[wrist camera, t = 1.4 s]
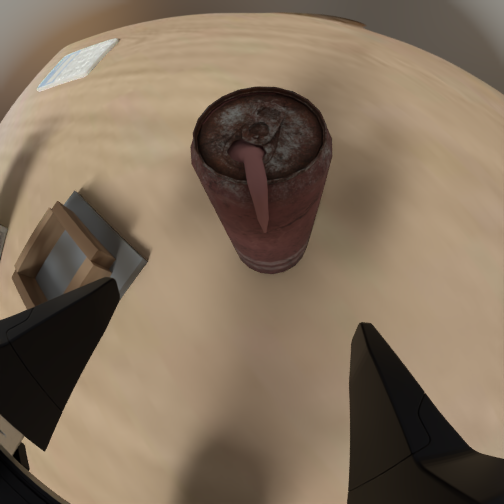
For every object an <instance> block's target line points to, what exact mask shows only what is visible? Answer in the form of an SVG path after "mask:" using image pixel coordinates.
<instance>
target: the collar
mask: <svg viewBox="0 0 504 504" xmlns="http://www.w3.org/2000/svg"><path fill="white" fill-rule="evenodd" d="M147 262H148V261H146V260H145V259H144V258H143V257H142V256H141V255H140V254H139V253H138V252H137V251H136V250H135V249H133V248H132V247H131V246H130V245H129V244H128V243H127V242H126V241H125V240H124V239H123V238H122V237H121V236H120V235H119V234H118V233H117V232H116V231H115V230H114V229H113V228H112V227H111V226H110V225H109V224H108V223H107V222H106V221H105V220H104V219H103V218H102V217H101V216H100V215H99V214H98V213H97V212H96V211H95V210H94V209H93V208H92V207H91V206H90V205H89V204H88V203H87V202H86V201H85V200H84V199H83V198H82V197H81V195H80V194H78V193H77V192H76V191H74V192H73V193H72V195H71V196H70V197H69V199H68V200H67V201H66V203H65V204H64V205H63V204H61V203H60V202H58V201H57V202H56V204H55V205H54V207H53V208H52V209H51V208H49V209H48V210H47V212H46V213H45V215H44V216H43V218H42V219H41V221H40V222H39V224H38V225H37V227H36V229H35V230H34V232H33V233H32V235H31V237H30V238H29V240H28V242H27V244H26V245H25V247H24V249H23V251H22V252H21V254H20V256H19V258H18V260H17V262H16V264H15V269H16V270H15V272H14V274H13V276H12V279H13V282H14V284H15V286H16V288H17V290H18V292H19V294H20V296H21V298H22V300H23V302H24V304H25V306H26V308H27V310H28V309H30V308H32V307H35V306H37V305H39V304H41V303H44V302H46V301H48V300H51V299H53V298H55V297H58V296H60V295H62V294H65V293H67V292H70V291H72V290H74V289H77V288H79V287H81V286H84V285H86V284H89V283H91V282H94V281H96V280H98V279H101V278H103V277H111V278H114V279H115V280H116V282H117V285H118V289H119V293H120V299H121V298H122V296H123V295H124V293H125V292H126V291H127V289H128V288H129V286H130V285H131V284H132V282H133V281H134V280H135V278H136V277H137V275H138V274H139V273H140V271H141V270H142V269H143V267H144V266H145V265H146V263H147Z"/></svg>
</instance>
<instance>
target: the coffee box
mask: <svg viewBox="0 0 504 504" xmlns="http://www.w3.org/2000/svg"><path fill="white" fill-rule="evenodd" d="M7 230H8V228H7V227H5V226H3V225H1V224H0V258H1V253H2V249H3V245H4V241H5V237H6V234H7Z"/></svg>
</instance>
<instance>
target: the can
mask: <svg viewBox="0 0 504 504" xmlns="http://www.w3.org/2000/svg"><path fill="white" fill-rule="evenodd" d="M331 159H332V138H331V136H330V133H329V131H328V129H327V127H326V123H325V121H324V119H323V117H322V114H321V112H320V111H319V110H318V109H317V108H316V107H315V106H314V105H313V104H312V103H311V102H310V101H309V100H308V99H306V98H304V97H302V96H300V95H299V94H297V93H295V92H293V91H289V90H285V89H281V88H277V87H251V88H246V89H240V90H237V91H234V92H232V93H229V94H227V95H225V96H222V97H221V98H219V99H218V100H216V101H215V102H214V103H212V104H211V105H209V106H208V107H207V108H206V110H205V111H204V112H203V113H202V115H201V116H200V117H199V118H198V120H197V123H196V126H195V129H194V132H193V141H192V144H191V161H192V165H193V167H194V169H195V171H196V173H197V175H198V177H199V179H200V181H201V183H202V185H203V187H204V189H205V191H206V193H207V195H208V197H209V199H210V201H211V203H212V205H213V207H214V209H215V211H216V213H217V215H218V217H219V219H220V221H221V222H222V224H223V226H224V228H225V230H226V232H227V234H228V236H229V238H230V240H231V242H232V244H233V246H234V248H235V250H236V251H237V253H238V255H239V257H240V259H241V260H242V261H243V262H244V263H245V264H246V265H247V266H248V267H249V268H251V269H253V270H255V271H258V272H260V273H267V274H275V273H280V272H284V271H286V270H288V269H290V268H291V267H293V266H295V265H296V263H297V262H298V261H299V260H300V259H301V258H302V256H303V254H304V252H305V250H306V247H307V244H308V241H309V238H310V234H311V231H312V228H313V224H314V221H315V217H316V214H317V210H318V207H319V203H320V200H321V196H322V192H323V189H324V185H325V181H326V178H327V174H328V170H329V166H330V162H331Z"/></svg>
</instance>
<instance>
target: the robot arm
mask: <svg viewBox="0 0 504 504" xmlns="http://www.w3.org/2000/svg"><path fill="white" fill-rule="evenodd" d="M119 300H120V293H119V289H118V285H117V282H116V280H115V279H114V278H111V277H103V278H101V279H98V280H96V281H94V282H91V283H89V284H86V285H84V286H81V287H79V288H77V289H74V290H72V291H70V292H67V293H65V294H62V295H60V296H58V297H55V298H53V299H51V300H48V301H46V302H44V303H41V304H39V305H37V306H35V307H32V308H30V309H28V310H25V311H23V312H21V313H18V314H16V315H13V316H11V317H8V318H5V319H3V320H0V504H70V503H69V502H67V501H66V500H64V499H63V498H61V497H60V496H59V495H57V494H56V493H55V492H53V491H52V490H51V489H49V488H48V487H47V486H46V485H44V484H43V483H42V482H41V481H39V480H38V479H37V478H36V477H35V476H33V475H32V474H31V473H30V472H29V470H30V468H29V464H28V459H27V454H26V449H25V445H24V444H23V443H22V442H21V441H22V440H23V438H24V436H25V437H26V438H27V439H29V440H30V441H31V442H32V443H34V444H35V445H36V446H38V447H39V448H40V449H42V450H43V451H45V450H46V449H47V446H48V444H49V441H50V439H51V437H52V434H53V432H54V430H55V427H56V425H57V423H58V421H59V418H60V416H61V414H62V411H63V410H64V407H65V405H66V403H67V401H68V399H69V397H70V395H71V393H72V391H73V389H74V387H75V385H76V383H77V381H78V379H79V377H80V375H81V373H82V372H83V370H84V368H85V366H86V364H87V362H88V360H89V359H90V357H91V355H92V353H93V351H94V350H95V348H96V346H97V344H98V343H99V341H100V339H101V337H102V336H103V334H104V332H105V330H106V328H107V326H108V324H109V322H110V319H111V317H112V315H113V313H114V311H115V309H116V307H117V305H118V303H119ZM349 397H350V467H349V487H348V491H349V492H348V499H347V504H504V459H502V458H497V457H493V456H489V455H485V454H482V453H479V452H477V451H475V450H473V449H472V448H471V447H470V446H469V445H468V444H467V443H466V442H465V441H464V440H463V439H462V437H461V436H460V435H459V434H458V433H457V432H456V430H455V429H454V428H453V427H452V426H451V425H450V424H449V422H448V421H447V420H446V419H445V418H444V416H443V415H442V414H441V413H440V412H439V410H438V409H437V408H436V406H435V405H434V404H433V403H432V401H431V400H430V398H429V397H428V396H427V394H426V393H425V394H424V390H423V389H422V388H421V386H420V385H419V384H418V382H417V381H416V380H415V378H414V377H413V376H412V374H411V373H410V372H409V370H408V369H407V368H406V366H405V365H404V364H403V363H402V361H401V360H400V359H399V357H398V356H397V355H396V354H395V352H394V351H393V350H392V348H391V347H390V346H389V345H388V343H387V342H386V341H385V340H384V338H383V337H382V336H381V335H380V333H379V332H378V331H377V330H376V328H375V327H374V326H373V325H372V324H371V323H364V322H361V323H359V325H358V327H357V329H356V332H355V334H354V336H353V339H352V343H351V360H350V376H349Z"/></svg>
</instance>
